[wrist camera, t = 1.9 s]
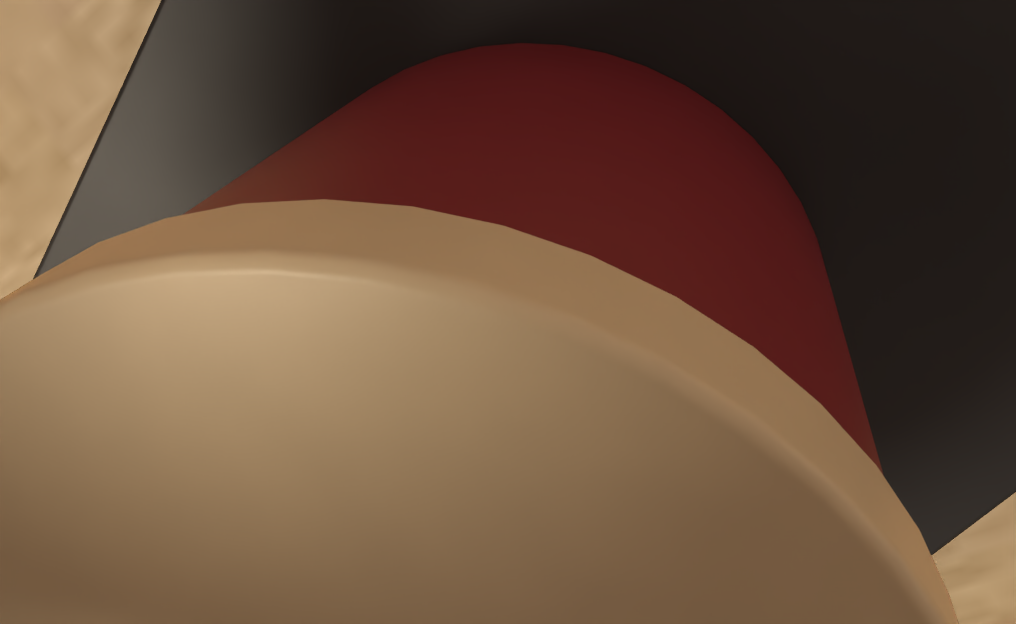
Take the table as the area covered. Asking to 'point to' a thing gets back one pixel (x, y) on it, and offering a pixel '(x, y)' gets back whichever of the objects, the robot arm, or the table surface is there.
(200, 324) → the tub
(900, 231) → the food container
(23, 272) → the table surface
